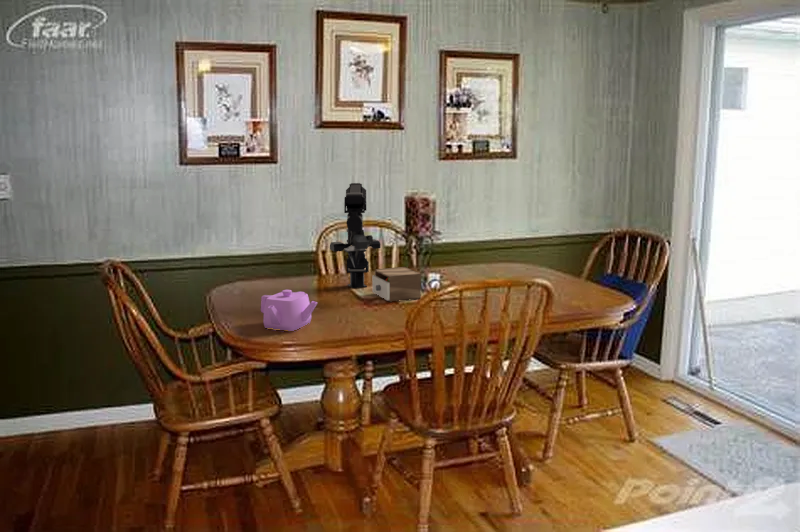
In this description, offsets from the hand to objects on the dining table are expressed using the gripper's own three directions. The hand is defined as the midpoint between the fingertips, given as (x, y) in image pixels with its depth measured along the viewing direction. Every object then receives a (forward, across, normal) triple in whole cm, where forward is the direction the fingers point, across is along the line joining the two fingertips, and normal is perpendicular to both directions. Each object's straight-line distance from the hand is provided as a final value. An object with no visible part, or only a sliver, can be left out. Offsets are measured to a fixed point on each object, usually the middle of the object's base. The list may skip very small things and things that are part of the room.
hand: (355, 267), depth 275 cm
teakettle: (+13, -33, -24) cm, 43 cm away
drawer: (+12, +16, 0) cm, 20 cm away
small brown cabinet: (+13, +18, 0) cm, 22 cm away
